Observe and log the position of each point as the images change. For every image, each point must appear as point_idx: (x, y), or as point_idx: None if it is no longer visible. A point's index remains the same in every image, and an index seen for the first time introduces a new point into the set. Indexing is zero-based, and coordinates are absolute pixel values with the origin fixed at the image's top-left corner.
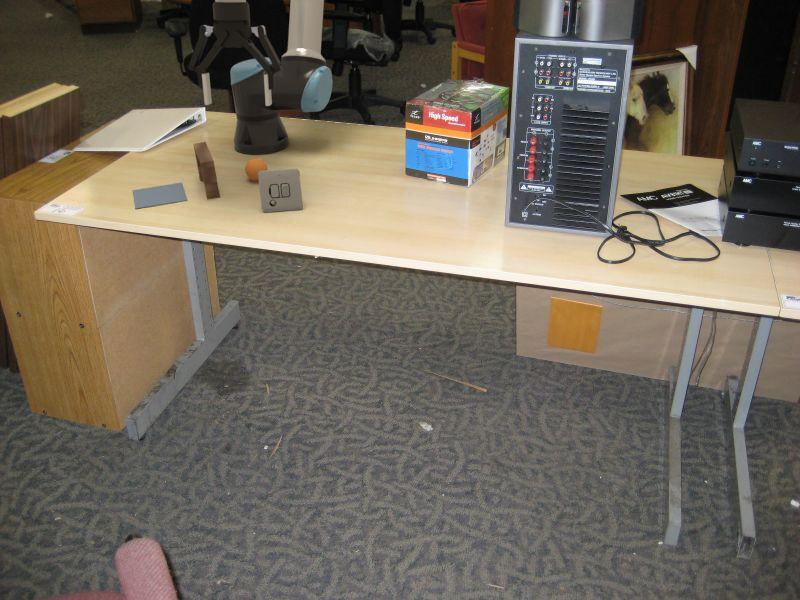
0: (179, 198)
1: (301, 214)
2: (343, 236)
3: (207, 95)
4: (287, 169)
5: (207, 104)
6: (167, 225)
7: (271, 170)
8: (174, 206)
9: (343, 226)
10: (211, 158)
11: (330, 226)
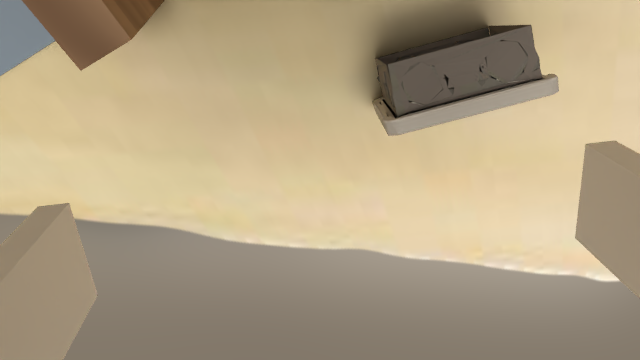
0: (17, 28)
1: None
2: None
3: (67, 338)
4: (513, 100)
5: (92, 298)
6: (116, 211)
7: (444, 115)
8: (44, 88)
9: None
10: (100, 8)
11: None
